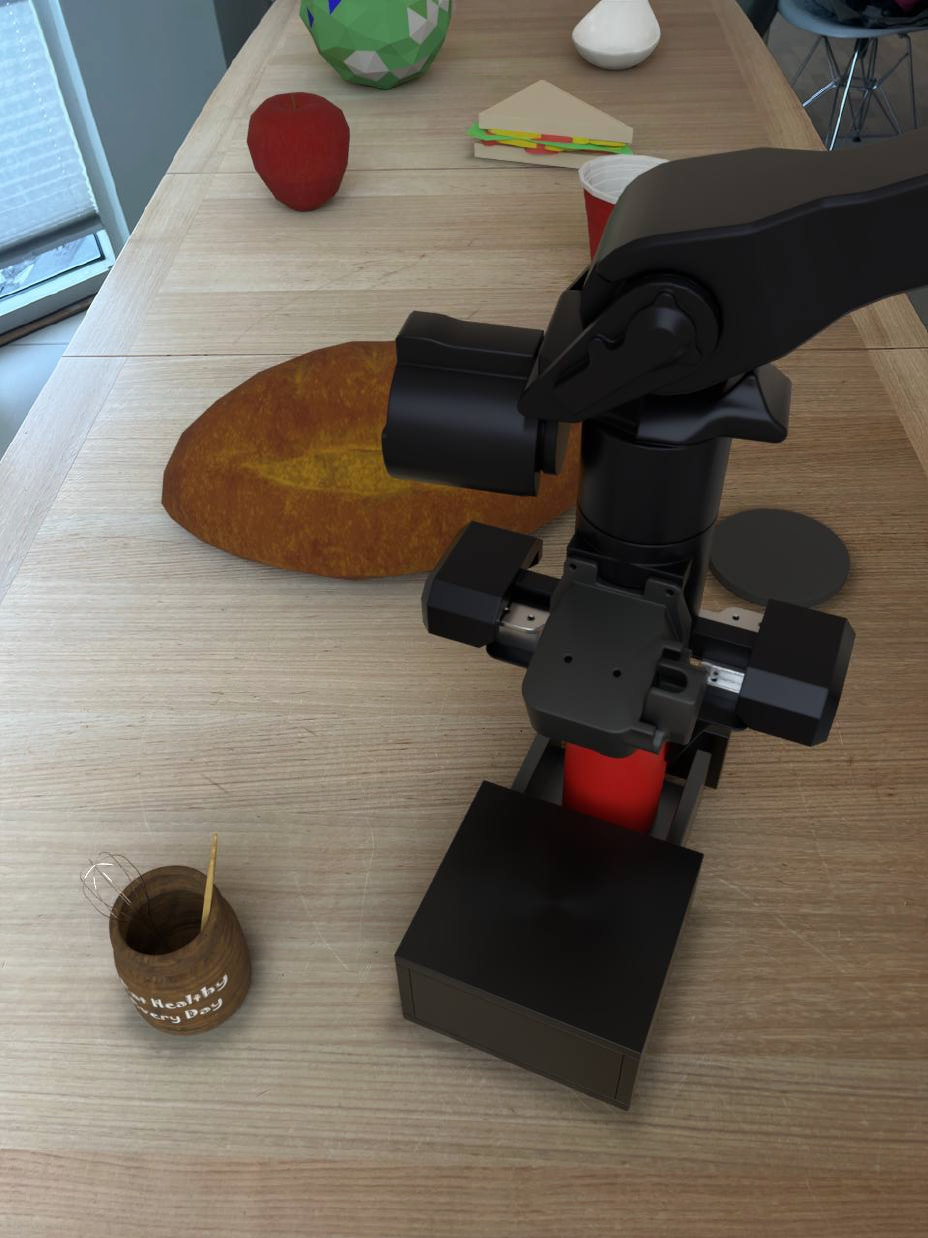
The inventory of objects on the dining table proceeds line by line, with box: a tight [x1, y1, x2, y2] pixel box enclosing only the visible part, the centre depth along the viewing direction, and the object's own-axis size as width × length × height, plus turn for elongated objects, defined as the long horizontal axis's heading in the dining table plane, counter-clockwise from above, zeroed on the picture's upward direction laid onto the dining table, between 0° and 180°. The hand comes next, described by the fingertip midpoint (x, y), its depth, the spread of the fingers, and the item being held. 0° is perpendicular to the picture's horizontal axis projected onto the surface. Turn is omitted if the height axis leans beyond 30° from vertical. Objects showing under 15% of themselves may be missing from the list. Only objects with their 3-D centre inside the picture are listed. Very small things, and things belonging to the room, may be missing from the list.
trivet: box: [708, 508, 851, 608], centre depth 74 cm, size 10×10×1 cm
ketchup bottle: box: [562, 742, 668, 834], centre depth 54 cm, size 5×5×11 cm
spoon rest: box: [571, 0, 661, 71], centre depth 147 cm, size 24×12×7 cm, turn 167°
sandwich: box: [465, 79, 635, 170], centre depth 122 cm, size 15×20×5 cm
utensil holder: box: [79, 832, 252, 1037], centre depth 49 cm, size 6×6×12 cm
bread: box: [160, 340, 582, 581], centre depth 76 cm, size 21×33×12 cm, turn 92°
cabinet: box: [393, 779, 705, 1112], centre depth 51 cm, size 10×11×6 cm
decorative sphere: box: [298, 0, 457, 90], centre depth 136 cm, size 19×20×20 cm
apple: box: [246, 91, 351, 213], centre depth 113 cm, size 11×11×12 cm
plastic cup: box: [577, 154, 670, 263], centre depth 96 cm, size 11×11×12 cm
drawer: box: [509, 725, 733, 848], centre depth 59 cm, size 14×10×5 cm
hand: (617, 739), depth 54 cm, fingers closed on ketchup bottle, 5 cm apart
